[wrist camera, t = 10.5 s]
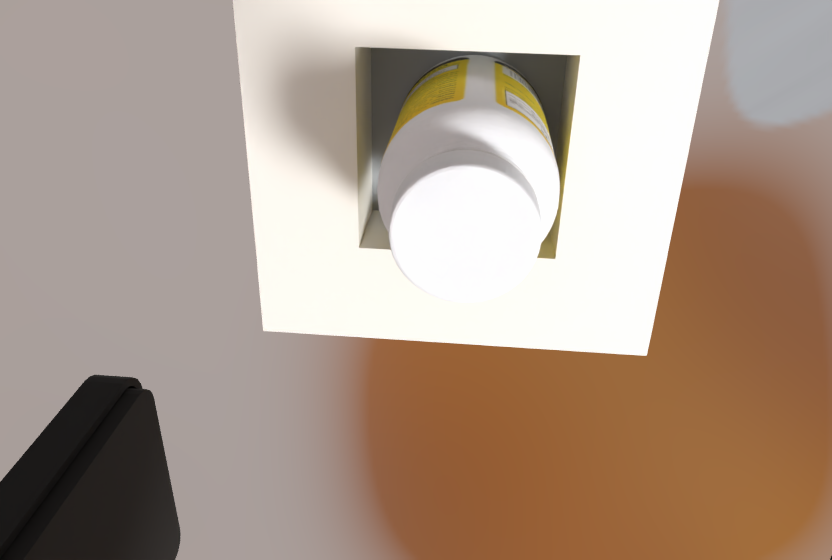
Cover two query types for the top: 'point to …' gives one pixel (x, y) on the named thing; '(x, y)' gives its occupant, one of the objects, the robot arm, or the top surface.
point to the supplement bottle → (469, 180)
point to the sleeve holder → (372, 129)
